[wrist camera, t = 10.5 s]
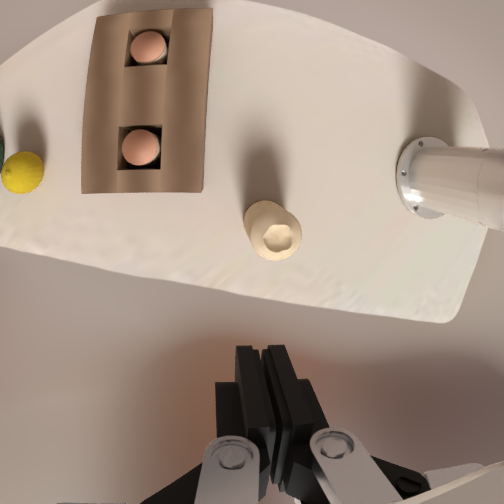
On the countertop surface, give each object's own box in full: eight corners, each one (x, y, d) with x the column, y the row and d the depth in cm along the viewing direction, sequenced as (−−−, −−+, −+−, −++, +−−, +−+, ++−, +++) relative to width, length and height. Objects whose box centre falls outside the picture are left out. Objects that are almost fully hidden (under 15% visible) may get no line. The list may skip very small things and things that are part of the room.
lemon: (58, 159, 37) (29, 160, 29) (45, 196, 38) (15, 204, 30) (30, 145, 35) (-1, 145, 28) (18, 182, 37) (-14, 187, 29)
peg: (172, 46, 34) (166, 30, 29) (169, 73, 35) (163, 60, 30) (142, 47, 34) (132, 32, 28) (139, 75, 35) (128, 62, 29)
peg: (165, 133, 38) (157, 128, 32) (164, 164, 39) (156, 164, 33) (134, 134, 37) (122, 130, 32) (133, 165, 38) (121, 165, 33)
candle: (262, 191, 41) (276, 199, 32) (293, 218, 43) (316, 235, 33) (234, 223, 42) (240, 242, 32) (266, 249, 43) (280, 274, 34)
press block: (212, 27, 34) (212, 8, 29) (203, 188, 40) (201, 192, 34) (110, 33, 33) (97, 17, 27) (98, 189, 39) (81, 193, 33)
